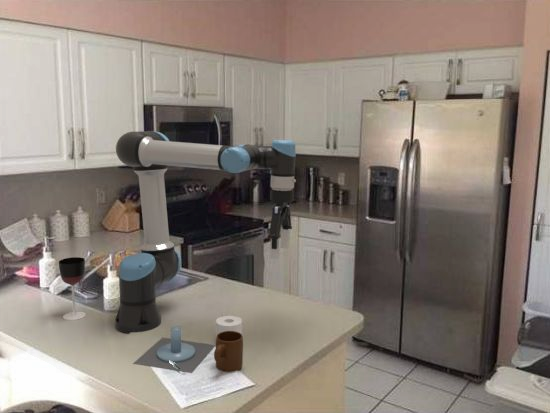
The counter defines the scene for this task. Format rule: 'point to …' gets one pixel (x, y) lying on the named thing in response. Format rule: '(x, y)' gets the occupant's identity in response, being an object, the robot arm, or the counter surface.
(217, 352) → the mug
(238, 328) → the toilet paper
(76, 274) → the wineglass
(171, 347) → the lid
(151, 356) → the mat
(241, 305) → the counter surface
